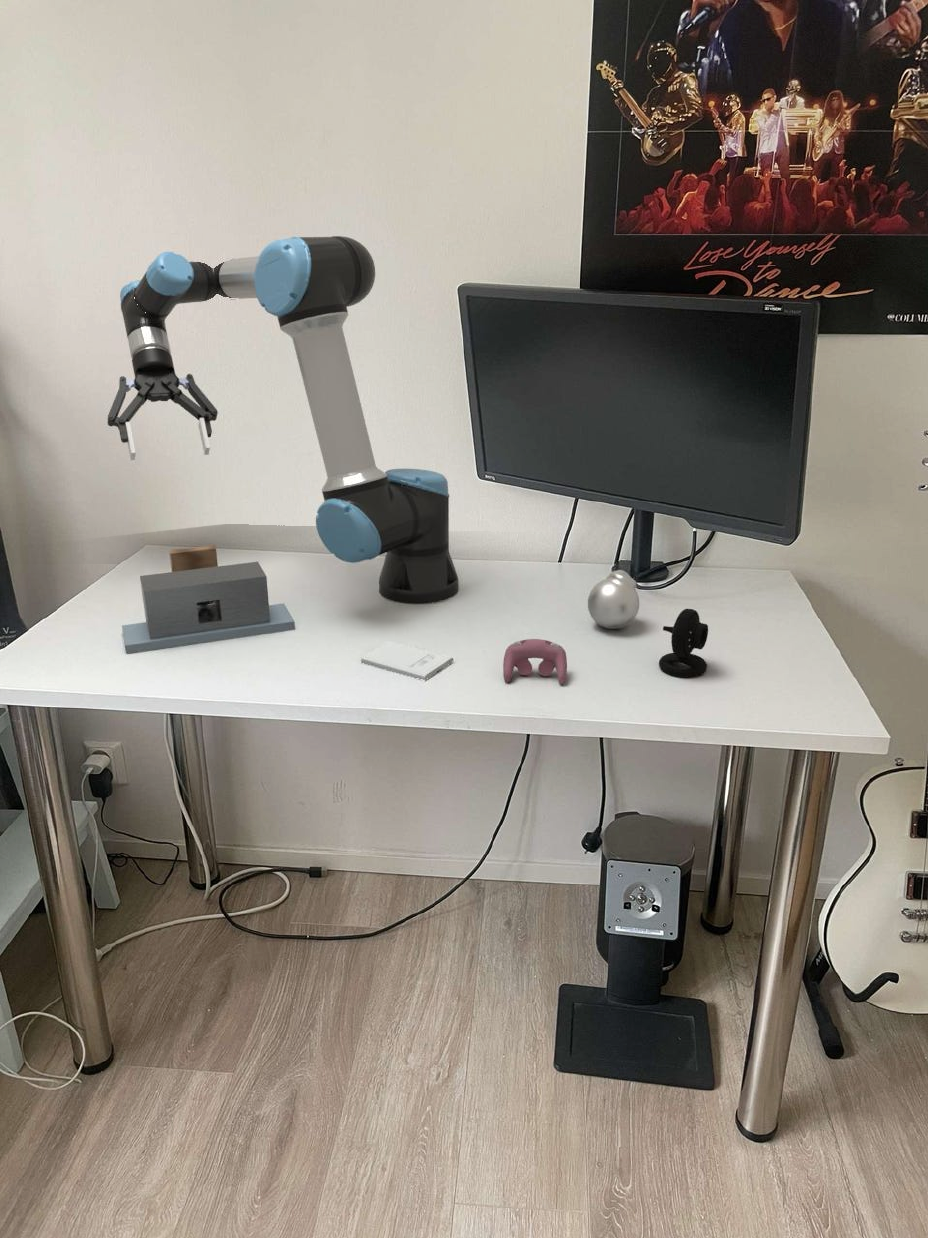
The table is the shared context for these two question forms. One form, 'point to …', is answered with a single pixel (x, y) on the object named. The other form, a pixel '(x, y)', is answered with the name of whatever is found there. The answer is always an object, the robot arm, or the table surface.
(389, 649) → the external hard drive
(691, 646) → the webcam
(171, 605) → the housing
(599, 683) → the table surface
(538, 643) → the video game controller
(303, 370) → the robot arm
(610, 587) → the silver bulbous ornament
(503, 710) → the table surface
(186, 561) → the brown wooden block
